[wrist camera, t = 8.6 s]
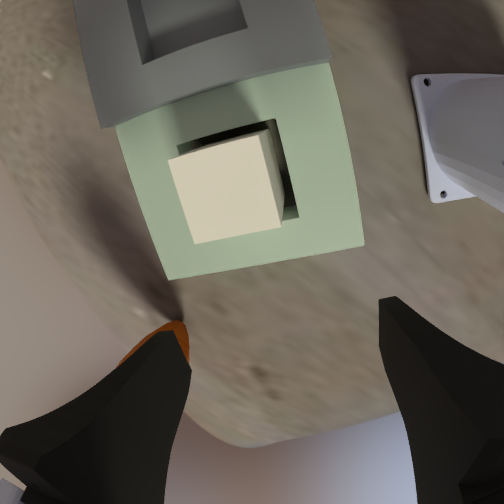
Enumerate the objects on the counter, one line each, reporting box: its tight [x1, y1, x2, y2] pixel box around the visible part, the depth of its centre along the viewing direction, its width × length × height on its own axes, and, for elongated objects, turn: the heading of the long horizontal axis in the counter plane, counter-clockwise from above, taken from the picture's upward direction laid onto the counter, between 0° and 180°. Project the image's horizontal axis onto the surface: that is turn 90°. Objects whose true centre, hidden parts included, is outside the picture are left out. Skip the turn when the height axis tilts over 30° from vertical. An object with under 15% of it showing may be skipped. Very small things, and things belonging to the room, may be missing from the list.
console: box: [73, 0, 365, 280], centre depth 15 cm, size 20×12×4 cm, turn 15°
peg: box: [168, 129, 285, 244], centre depth 16 cm, size 4×4×6 cm
